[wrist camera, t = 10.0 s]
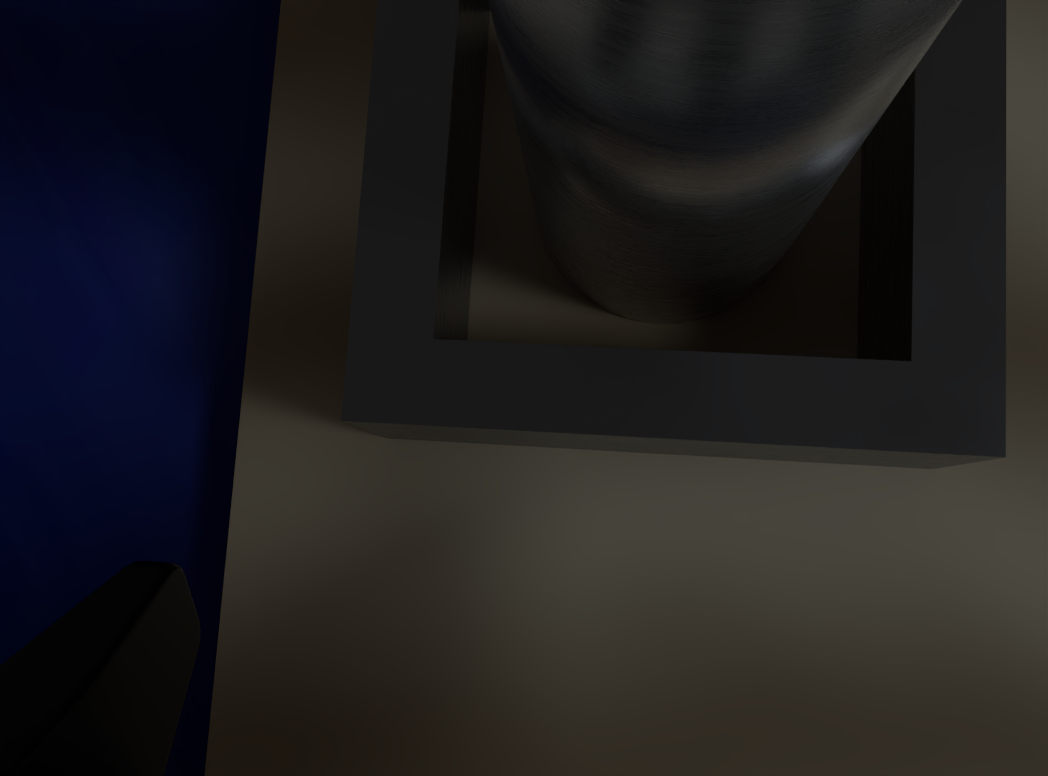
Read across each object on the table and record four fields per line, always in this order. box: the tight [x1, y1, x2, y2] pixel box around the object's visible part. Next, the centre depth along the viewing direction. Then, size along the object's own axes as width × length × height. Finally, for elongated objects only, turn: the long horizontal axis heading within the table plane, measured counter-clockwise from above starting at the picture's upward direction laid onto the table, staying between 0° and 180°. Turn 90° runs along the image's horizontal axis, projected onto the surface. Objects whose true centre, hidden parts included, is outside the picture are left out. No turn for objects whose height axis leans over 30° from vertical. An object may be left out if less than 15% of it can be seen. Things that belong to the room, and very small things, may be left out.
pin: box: [488, 0, 962, 324], centre depth 11 cm, size 4×4×12 cm
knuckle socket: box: [341, 0, 1006, 469], centre depth 15 cm, size 9×9×3 cm
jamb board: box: [205, 0, 1048, 776], centre depth 16 cm, size 16×26×1 cm, turn 87°
